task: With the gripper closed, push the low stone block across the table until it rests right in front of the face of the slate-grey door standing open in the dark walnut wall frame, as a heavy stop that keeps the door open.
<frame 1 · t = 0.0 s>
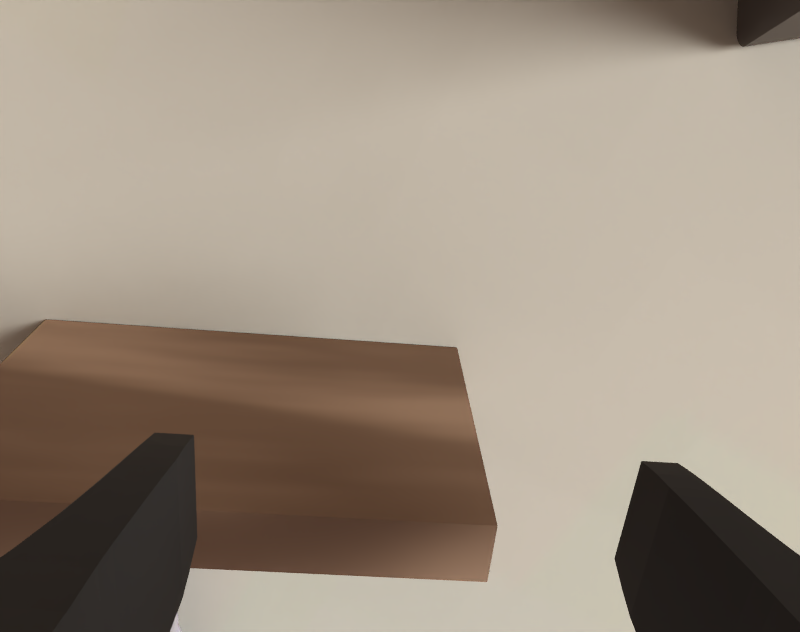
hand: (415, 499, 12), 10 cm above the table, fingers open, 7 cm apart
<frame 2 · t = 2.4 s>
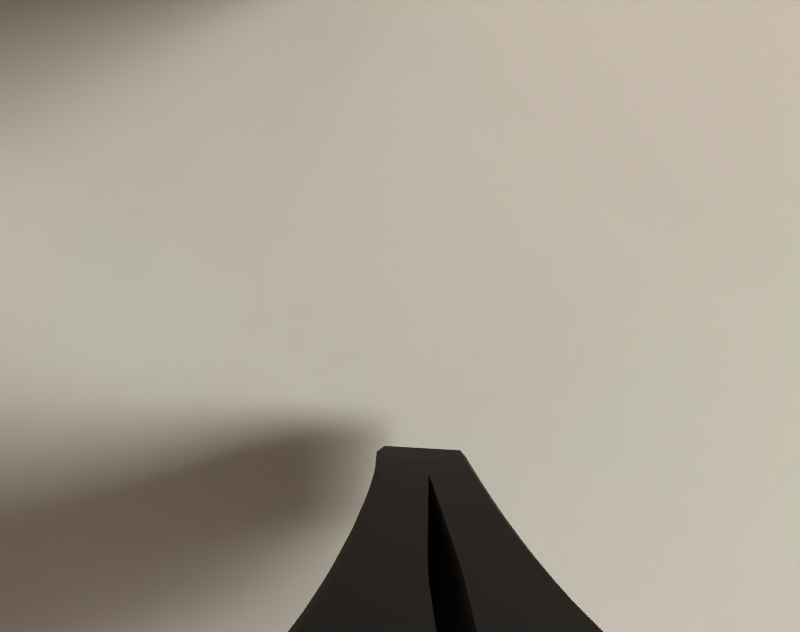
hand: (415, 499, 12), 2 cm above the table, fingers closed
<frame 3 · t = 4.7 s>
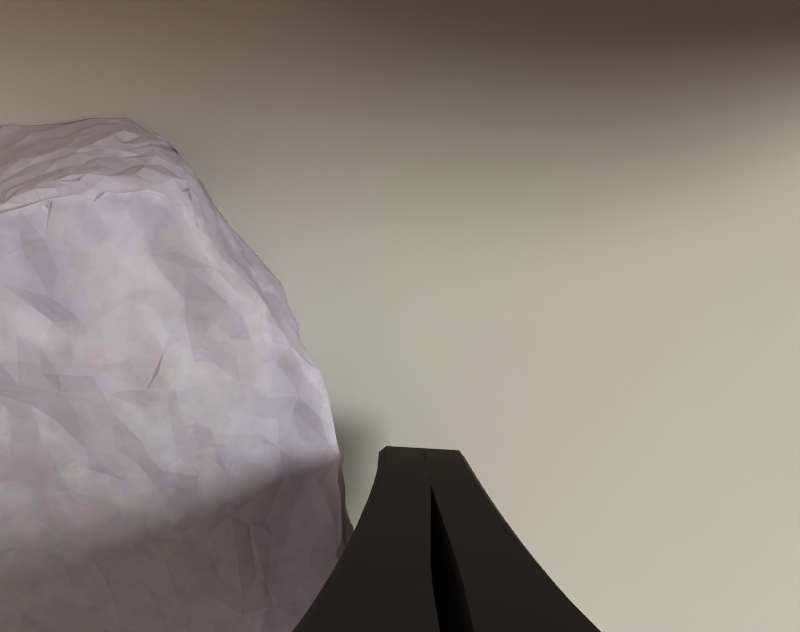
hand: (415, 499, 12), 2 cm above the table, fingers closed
stone block: (100, 447, 13), on the table, touching gripper
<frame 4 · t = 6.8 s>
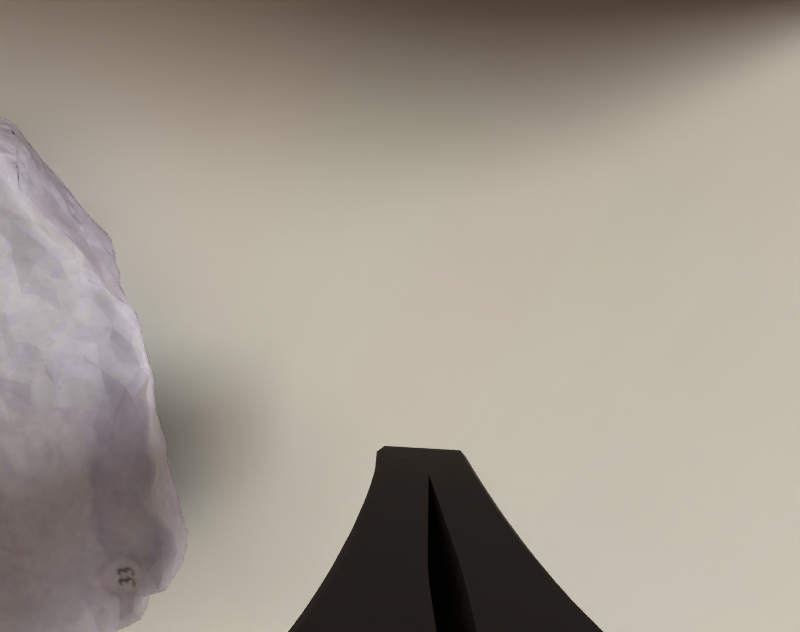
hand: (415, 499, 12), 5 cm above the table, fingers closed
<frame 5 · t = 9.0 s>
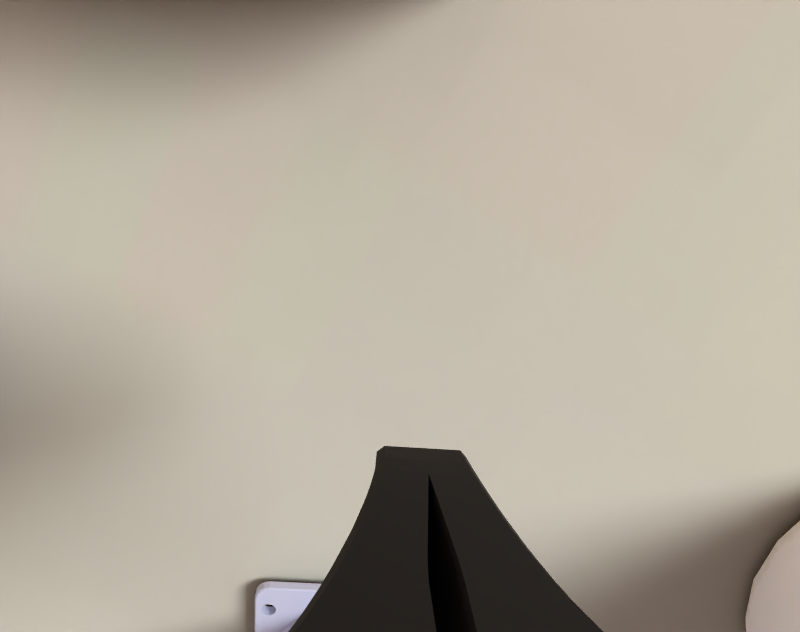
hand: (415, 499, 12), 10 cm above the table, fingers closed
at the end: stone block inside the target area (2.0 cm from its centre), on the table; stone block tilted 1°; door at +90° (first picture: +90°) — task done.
